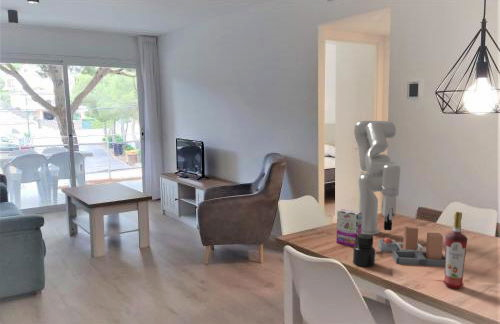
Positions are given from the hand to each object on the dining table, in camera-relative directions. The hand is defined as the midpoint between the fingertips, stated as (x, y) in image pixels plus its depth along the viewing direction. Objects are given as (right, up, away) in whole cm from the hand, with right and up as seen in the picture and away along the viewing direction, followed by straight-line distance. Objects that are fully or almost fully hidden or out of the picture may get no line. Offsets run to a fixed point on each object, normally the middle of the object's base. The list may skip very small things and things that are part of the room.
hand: (387, 229), depth 197 cm
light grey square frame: (+10, -10, -1) cm, 14 cm away
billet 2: (+14, -11, -16) cm, 24 cm away
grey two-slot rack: (+9, -12, -15) cm, 21 cm away
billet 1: (+10, -10, -1) cm, 14 cm away
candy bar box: (-16, -9, +9) cm, 21 cm away
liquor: (+11, -15, -40) cm, 44 cm away
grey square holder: (0, -10, 0) cm, 10 cm away
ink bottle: (-16, -12, -17) cm, 26 cm away
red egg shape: (0, -9, 0) cm, 9 cm away
